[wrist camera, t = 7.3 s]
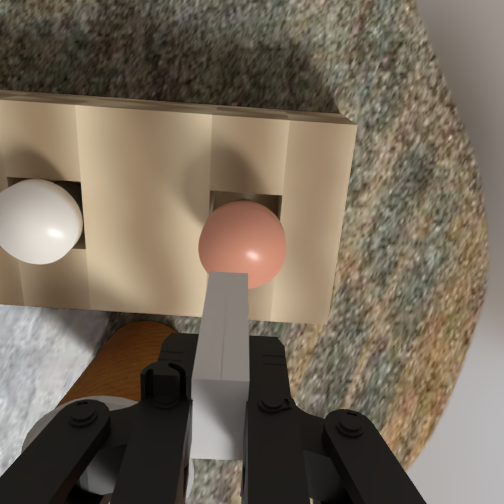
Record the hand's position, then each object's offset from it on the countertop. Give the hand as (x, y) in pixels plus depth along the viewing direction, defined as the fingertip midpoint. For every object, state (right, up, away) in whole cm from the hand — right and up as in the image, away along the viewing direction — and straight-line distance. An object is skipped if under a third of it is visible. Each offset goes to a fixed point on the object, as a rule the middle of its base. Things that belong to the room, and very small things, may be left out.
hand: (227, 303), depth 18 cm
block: (-5, +6, +12) cm, 15 cm away
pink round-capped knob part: (+1, +4, +9) cm, 10 cm away
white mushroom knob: (-10, +5, +10) cm, 16 cm away
